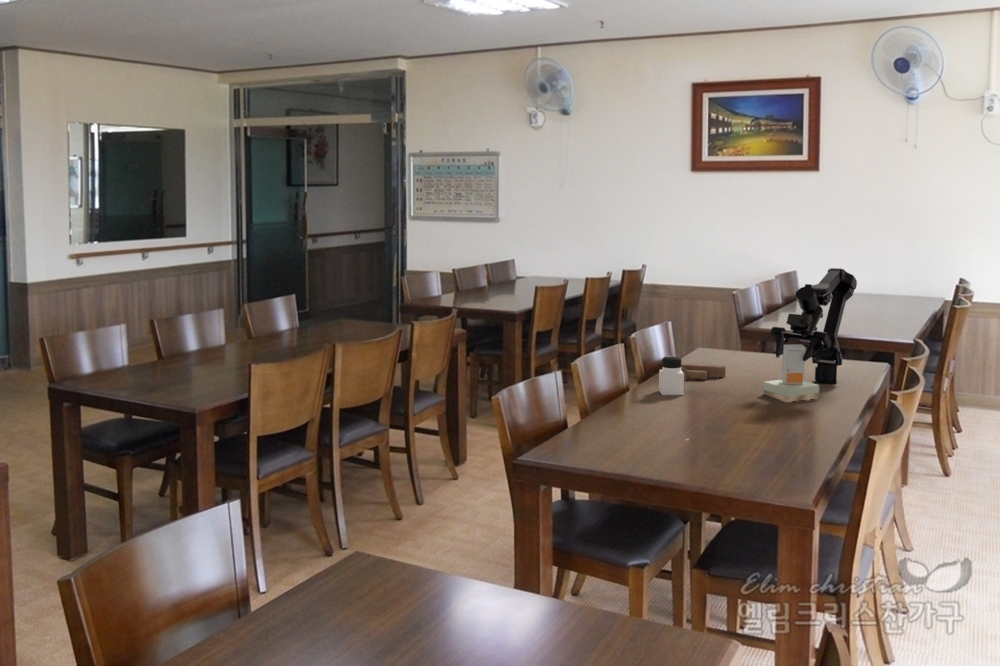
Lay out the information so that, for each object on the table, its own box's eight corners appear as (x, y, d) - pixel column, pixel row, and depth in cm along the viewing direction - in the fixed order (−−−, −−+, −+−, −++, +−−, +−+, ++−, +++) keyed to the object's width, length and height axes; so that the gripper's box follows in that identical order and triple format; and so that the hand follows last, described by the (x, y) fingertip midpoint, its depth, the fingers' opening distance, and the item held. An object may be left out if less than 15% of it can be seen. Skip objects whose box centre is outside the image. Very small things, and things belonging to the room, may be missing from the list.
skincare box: (784, 384, 295) (786, 348, 292) (780, 380, 299) (783, 344, 296) (804, 384, 295) (806, 348, 292) (800, 379, 299) (802, 343, 296)
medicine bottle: (684, 395, 302) (684, 358, 300) (662, 395, 302) (662, 358, 300) (680, 390, 309) (681, 354, 307) (658, 390, 309) (659, 354, 307)
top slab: (792, 385, 305) (793, 378, 305) (819, 392, 294) (819, 385, 294) (762, 389, 300) (763, 381, 300) (788, 396, 290) (788, 388, 289)
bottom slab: (795, 393, 305) (795, 385, 305) (818, 401, 294) (819, 393, 294) (763, 396, 301) (763, 389, 301) (786, 404, 290) (786, 396, 290)
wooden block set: (674, 359, 335) (725, 361, 329) (673, 375, 336) (725, 377, 330) (667, 368, 319) (722, 370, 314) (667, 384, 320) (721, 387, 314)
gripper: (773, 301, 302) (754, 339, 297) (828, 306, 289) (809, 346, 283) (785, 323, 309) (766, 360, 303) (839, 328, 296) (821, 368, 290)
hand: (790, 358), depth 295 cm, fingers open, 9 cm apart
